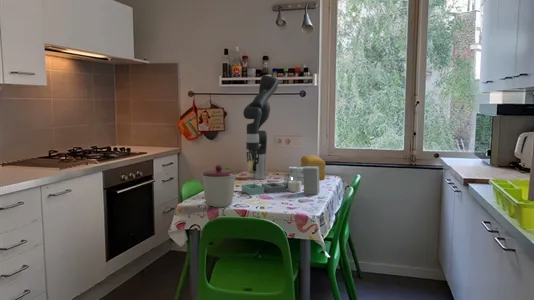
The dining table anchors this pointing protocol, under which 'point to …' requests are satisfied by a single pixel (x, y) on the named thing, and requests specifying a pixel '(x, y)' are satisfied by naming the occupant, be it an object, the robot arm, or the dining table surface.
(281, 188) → the block
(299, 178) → the light bulb box
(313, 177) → the skincare box
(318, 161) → the bread
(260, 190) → the trough
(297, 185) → the white cup
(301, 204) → the dining table surface
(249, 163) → the brass cell
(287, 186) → the grey cell
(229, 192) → the canister
